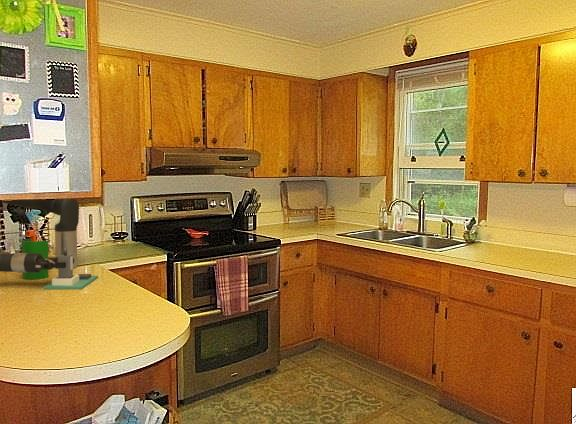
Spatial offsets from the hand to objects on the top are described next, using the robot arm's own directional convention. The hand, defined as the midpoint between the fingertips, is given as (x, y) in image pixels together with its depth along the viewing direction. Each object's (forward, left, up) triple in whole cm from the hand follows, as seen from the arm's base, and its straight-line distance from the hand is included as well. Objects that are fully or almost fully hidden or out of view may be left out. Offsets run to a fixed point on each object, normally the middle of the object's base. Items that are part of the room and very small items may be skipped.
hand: (70, 263), depth 189 cm
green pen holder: (-15, -20, -9) cm, 26 cm away
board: (-4, -1, -9) cm, 10 cm away
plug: (0, -2, -8) cm, 8 cm away
